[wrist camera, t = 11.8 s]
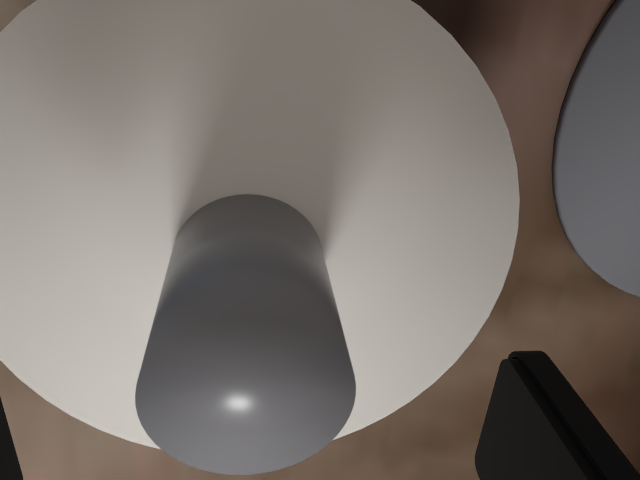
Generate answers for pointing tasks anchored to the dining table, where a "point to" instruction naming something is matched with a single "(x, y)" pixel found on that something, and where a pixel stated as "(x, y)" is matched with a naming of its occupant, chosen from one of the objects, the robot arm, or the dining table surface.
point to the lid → (244, 217)
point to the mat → (603, 151)
